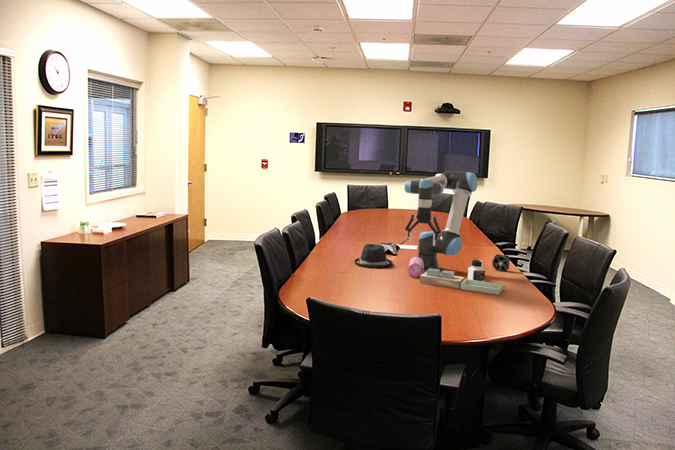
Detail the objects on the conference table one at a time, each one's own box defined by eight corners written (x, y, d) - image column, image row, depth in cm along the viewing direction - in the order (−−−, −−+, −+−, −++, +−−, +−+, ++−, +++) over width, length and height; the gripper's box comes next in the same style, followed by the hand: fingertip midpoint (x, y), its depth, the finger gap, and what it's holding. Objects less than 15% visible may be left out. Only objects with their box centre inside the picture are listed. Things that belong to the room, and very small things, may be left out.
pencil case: (422, 278, 297) (423, 263, 295) (406, 277, 298) (407, 262, 297) (424, 270, 317) (424, 256, 316) (409, 269, 319) (410, 255, 318)
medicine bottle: (472, 282, 293) (474, 261, 291) (467, 279, 300) (468, 258, 298) (484, 282, 294) (486, 261, 293) (478, 278, 301) (480, 258, 300)
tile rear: (429, 273, 293) (430, 268, 292) (440, 274, 290) (440, 269, 290) (426, 275, 287) (426, 270, 287) (437, 276, 285) (437, 271, 284)
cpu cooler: (491, 270, 326) (492, 254, 325) (493, 268, 331) (494, 253, 330) (508, 272, 322) (509, 256, 320) (509, 270, 327) (511, 255, 325)
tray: (465, 284, 287) (466, 278, 287) (502, 289, 279) (503, 284, 278) (460, 289, 276) (460, 283, 276) (498, 295, 267) (499, 289, 267)
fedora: (392, 260, 343) (393, 242, 342) (392, 269, 316) (393, 250, 315) (355, 258, 346) (356, 240, 344) (352, 267, 319) (353, 247, 317)
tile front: (443, 275, 289) (443, 270, 289) (454, 276, 286) (454, 271, 286) (440, 277, 284) (441, 272, 283) (451, 279, 281) (451, 273, 281)
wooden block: (425, 278, 297) (426, 271, 297) (463, 284, 287) (464, 277, 287) (419, 282, 286) (419, 275, 286) (458, 288, 277) (459, 281, 276)
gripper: (401, 205, 288) (398, 242, 291) (445, 209, 278) (442, 247, 281) (405, 204, 295) (402, 240, 298) (448, 208, 285) (445, 245, 288)
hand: (422, 244), depth 289 cm, fingers open, 13 cm apart
